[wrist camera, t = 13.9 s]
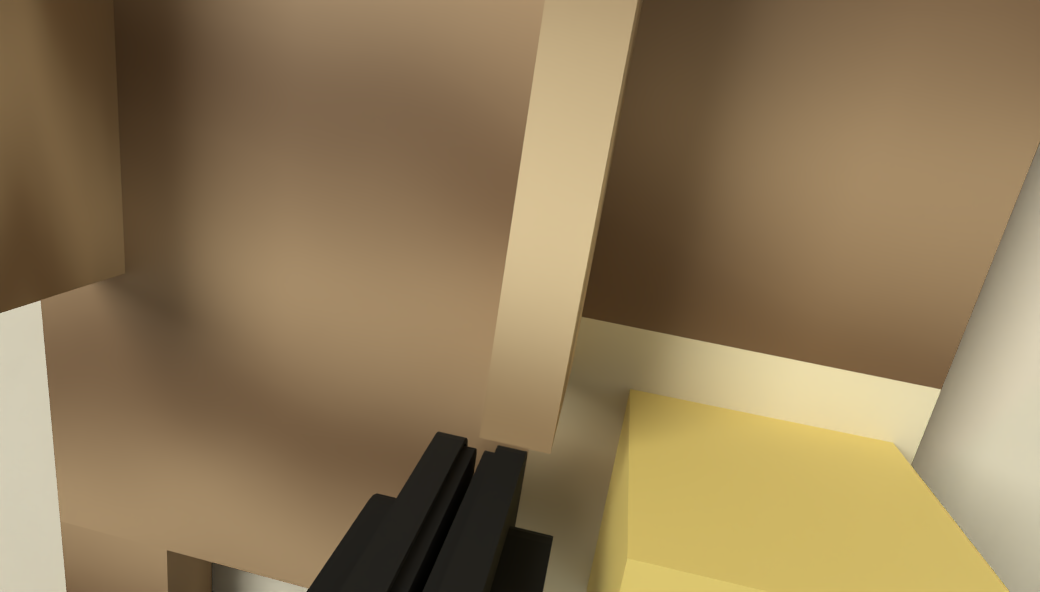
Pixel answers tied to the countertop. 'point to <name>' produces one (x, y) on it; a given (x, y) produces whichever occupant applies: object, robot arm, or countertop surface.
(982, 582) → the cube
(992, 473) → the countertop surface
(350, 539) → the robot arm
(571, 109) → the cubby
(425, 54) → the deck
